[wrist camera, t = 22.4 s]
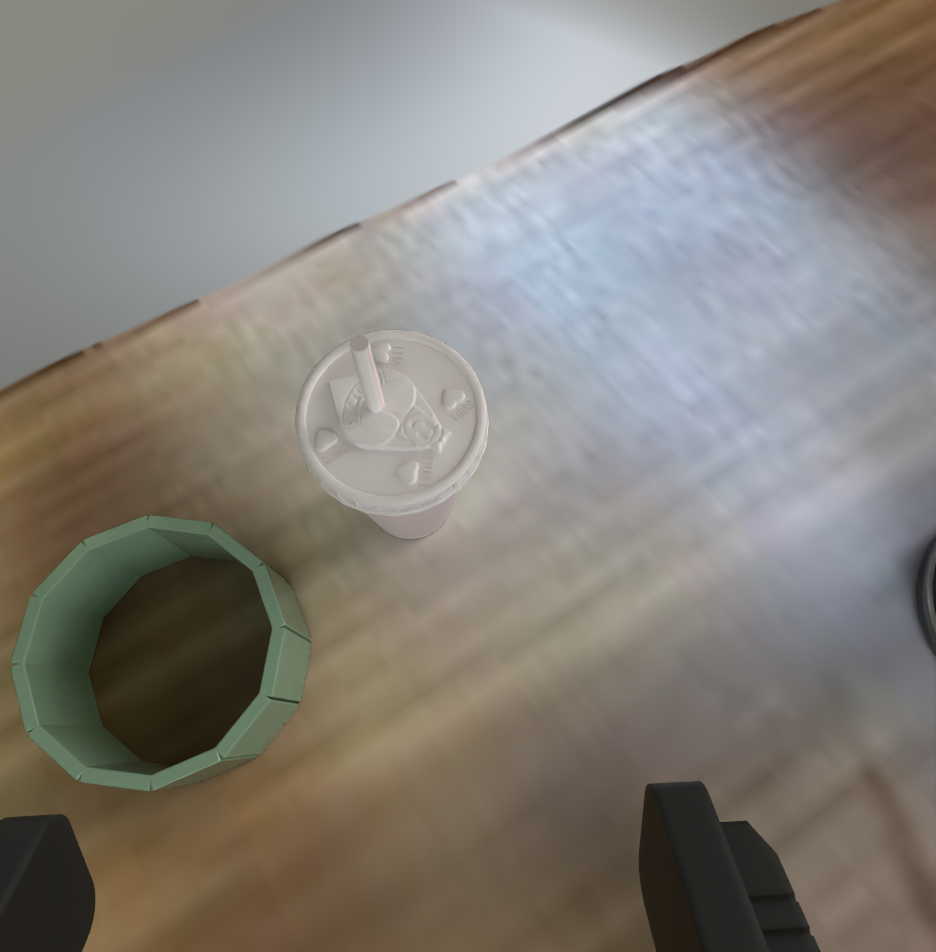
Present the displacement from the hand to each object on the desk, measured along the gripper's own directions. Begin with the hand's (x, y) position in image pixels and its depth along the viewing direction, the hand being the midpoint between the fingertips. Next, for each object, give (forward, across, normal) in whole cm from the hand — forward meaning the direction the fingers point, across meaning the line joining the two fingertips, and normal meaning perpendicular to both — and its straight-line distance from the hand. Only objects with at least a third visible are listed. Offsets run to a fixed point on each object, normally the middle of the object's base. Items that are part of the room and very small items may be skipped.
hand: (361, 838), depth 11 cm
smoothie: (+23, 0, +7) cm, 24 cm away
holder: (+18, +10, +12) cm, 24 cm away
